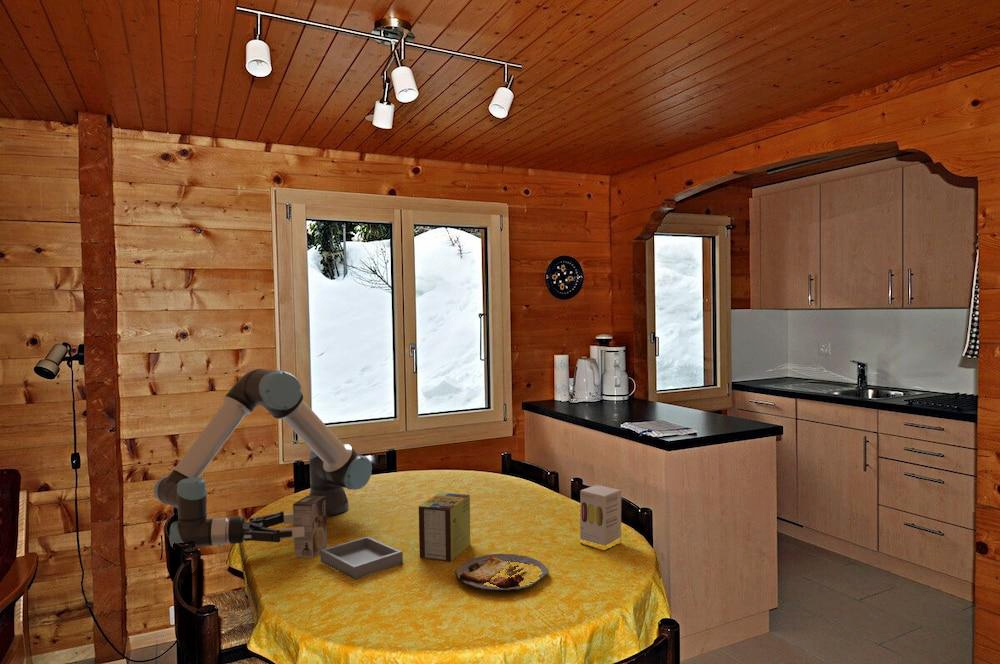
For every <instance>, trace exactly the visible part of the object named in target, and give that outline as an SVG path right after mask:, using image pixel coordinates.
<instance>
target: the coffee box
mask: <svg viewBox="0 0 1000 664" xmlns="http://www.w3.org/2000/svg"><path fill="white" fill-rule="evenodd" d="M292 510H293V511H292V512H293V513H292V514H293V517H294V523H293V527H304V537H294V538H293V545H294V546H293V547H294V548H293V549H294V558H307V559H314V558H315V557H317V556H319V555H320V550H323V549H326V548H328V526H327V525H328V523H327V521H328V519H327V518H328V516H327V514H326V496H309V495H306V496H304V497H303V498H301V499H299V500H298V501H296V502H294V503H292Z"/></svg>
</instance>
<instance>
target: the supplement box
mask: <svg viewBox="0 0 1000 664" xmlns="http://www.w3.org/2000/svg"><path fill="white" fill-rule="evenodd" d="M579 496H580V503H579V504H580V507H579V508H580V511H579V512H580V514H579V515H580V516H579V517H580V518H579V519H580V521H579V523H580V524H579V528H580V529H579V531H580V533H579V540H580V539H582V540H586V541H590V542H593V543H597V544H601V545H604V546H605V545H607V544H609V543H611V542H613V541H615V540H616V539H618V538H620V537H621V538H622V490H621V489H617V488H614V487H613V488H612V487H609V486H604V485H599V484H595V485H592V486H590V487H586V488H583V489H581V490H580V495H579Z"/></svg>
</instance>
